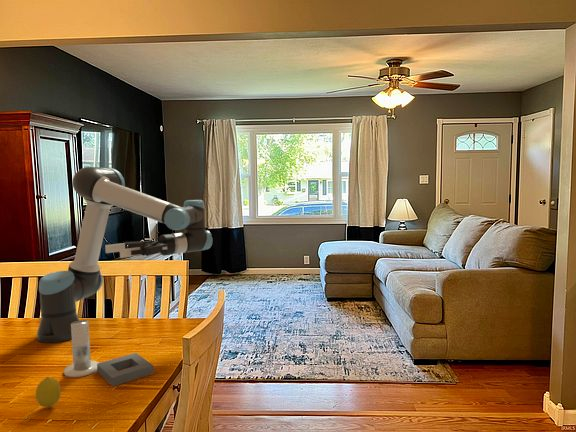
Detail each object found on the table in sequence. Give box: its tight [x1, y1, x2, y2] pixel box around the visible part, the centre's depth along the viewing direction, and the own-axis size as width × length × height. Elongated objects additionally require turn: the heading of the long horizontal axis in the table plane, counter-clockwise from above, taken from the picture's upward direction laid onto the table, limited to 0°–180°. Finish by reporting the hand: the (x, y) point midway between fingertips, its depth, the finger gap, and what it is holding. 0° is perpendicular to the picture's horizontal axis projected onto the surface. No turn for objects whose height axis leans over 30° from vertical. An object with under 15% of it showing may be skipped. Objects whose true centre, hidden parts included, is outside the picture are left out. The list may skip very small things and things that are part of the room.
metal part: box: [71, 319, 92, 371], centre depth 133 cm, size 5×5×14 cm
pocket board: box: [96, 352, 154, 387], centre depth 132 cm, size 13×12×2 cm
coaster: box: [63, 360, 100, 378], centre depth 134 cm, size 10×10×1 cm
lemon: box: [35, 376, 62, 409], centre depth 112 cm, size 6×6×8 cm
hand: (112, 251), depth 146 cm, fingers open, 13 cm apart
